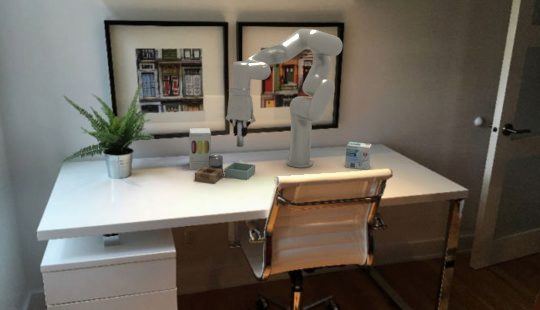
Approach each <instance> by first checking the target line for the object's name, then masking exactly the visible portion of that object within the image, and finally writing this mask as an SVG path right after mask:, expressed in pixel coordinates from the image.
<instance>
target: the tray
mask: <svg viewBox="0 0 540 310" xmlns="http://www.w3.org/2000/svg"><path fill="white" fill-rule="evenodd" d="M255 173H256V164H251V163H245V162H244V163H243V162H238V161H237V162H236V161H233V162H232V163H230V164H229V165H227V166H226V167H225V168H224V177H225V178H230V179H238V180H244V181H248V180H249V179H250V178H251V177H252V176H253V175H255Z"/></svg>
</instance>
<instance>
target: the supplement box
mask: <svg viewBox="0 0 540 310" xmlns="http://www.w3.org/2000/svg"><path fill="white" fill-rule="evenodd" d="M188 132H189V137H188V139H189V140H188V141H189V142H188V144H189V145H188V149H189V151H188V154H189V155H188V156H189V157H188V158H189V163H188V164H189V169H190V170H200V169H201V168H203V167H209V156H211V155H212V132H211V129H210V127H202V128H201V127H200V128H199V127H196V128H195V127H192V128H191V127H190V128H189V130H188Z"/></svg>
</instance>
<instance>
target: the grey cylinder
mask: <svg viewBox="0 0 540 310" xmlns="http://www.w3.org/2000/svg"><path fill="white" fill-rule="evenodd" d="M223 163H224V156H222V155H220V154H211V156H209V167H211V168H218V169H223V170H224V164H223Z"/></svg>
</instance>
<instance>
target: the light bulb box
mask: <svg viewBox="0 0 540 310" xmlns="http://www.w3.org/2000/svg"><path fill="white" fill-rule="evenodd" d="M371 153H372V144H371V143H364V142H355V141H348V143H347V145H346V152H345V160H344V162H345V164H344V167H345V168H350V169H357V170H358V169H359V170H364V169H365V170H367V171H368V169H369V167H370V164H371Z"/></svg>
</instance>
